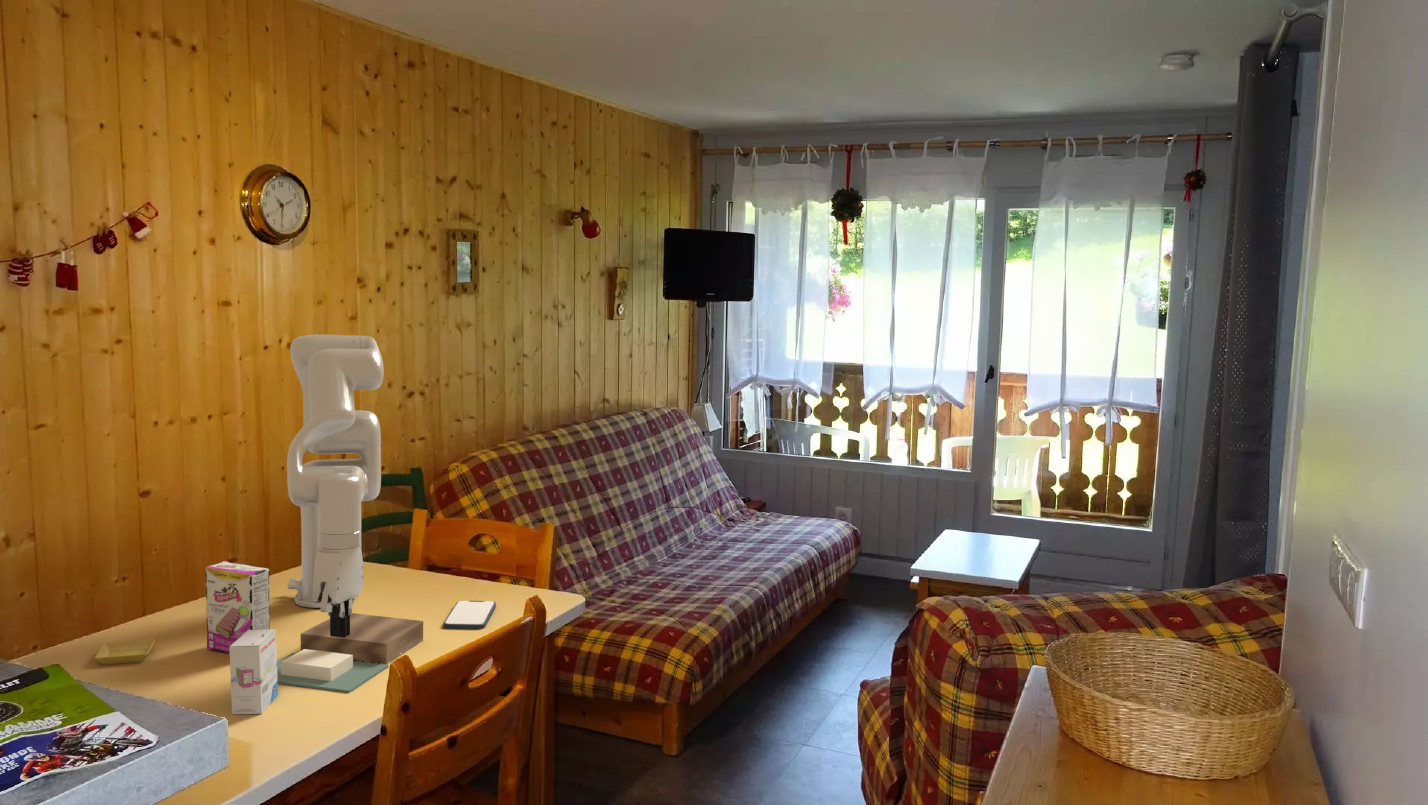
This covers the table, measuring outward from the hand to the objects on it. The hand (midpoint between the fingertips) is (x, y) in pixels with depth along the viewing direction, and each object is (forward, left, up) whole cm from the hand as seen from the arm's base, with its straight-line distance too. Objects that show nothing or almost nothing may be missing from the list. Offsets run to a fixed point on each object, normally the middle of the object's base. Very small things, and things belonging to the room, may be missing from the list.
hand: (340, 635), depth 193 cm
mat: (0, -6, -5) cm, 8 cm away
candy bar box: (-21, -1, -5) cm, 22 cm away
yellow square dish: (-38, -10, -6) cm, 40 cm away
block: (0, +8, -5) cm, 9 cm away
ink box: (-2, -22, -5) cm, 23 cm away
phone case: (+11, +32, -6) cm, 34 cm away
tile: (0, -7, -3) cm, 7 cm away
